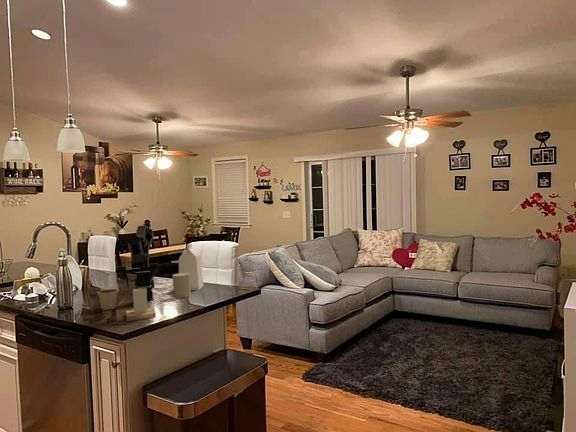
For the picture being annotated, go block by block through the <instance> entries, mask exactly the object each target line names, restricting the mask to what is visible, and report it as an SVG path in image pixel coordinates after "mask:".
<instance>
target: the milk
mask: <svg viewBox="0 0 576 432" xmlns="http://www.w3.org/2000/svg"><path fill="white" fill-rule="evenodd" d="M202 267H203V265H202V257H201V254H200V253H199V252H198V251H196V250H195V249H194V248H193V244H192V243H187V244H186V249H184V250H183V251H182V252H181V254H180V256H179V258H178V274H179V273H189V274H190V291H196V290H197V291H199V290H200V289H202V288H203V286H204V277H203V275H204V274H203V268H202Z"/></svg>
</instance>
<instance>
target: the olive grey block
mask: <svg viewBox="0 0 576 432" xmlns="http://www.w3.org/2000/svg"><path fill="white" fill-rule="evenodd" d="M172 286H173V287H172V288H173V297H174V298H177V299H178V298H179V299H180V298H186V297H187V296H188V297H191V296H192V293H191V291H192V290H190V274H189V273H179V272H178V273H174V274H172Z"/></svg>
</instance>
